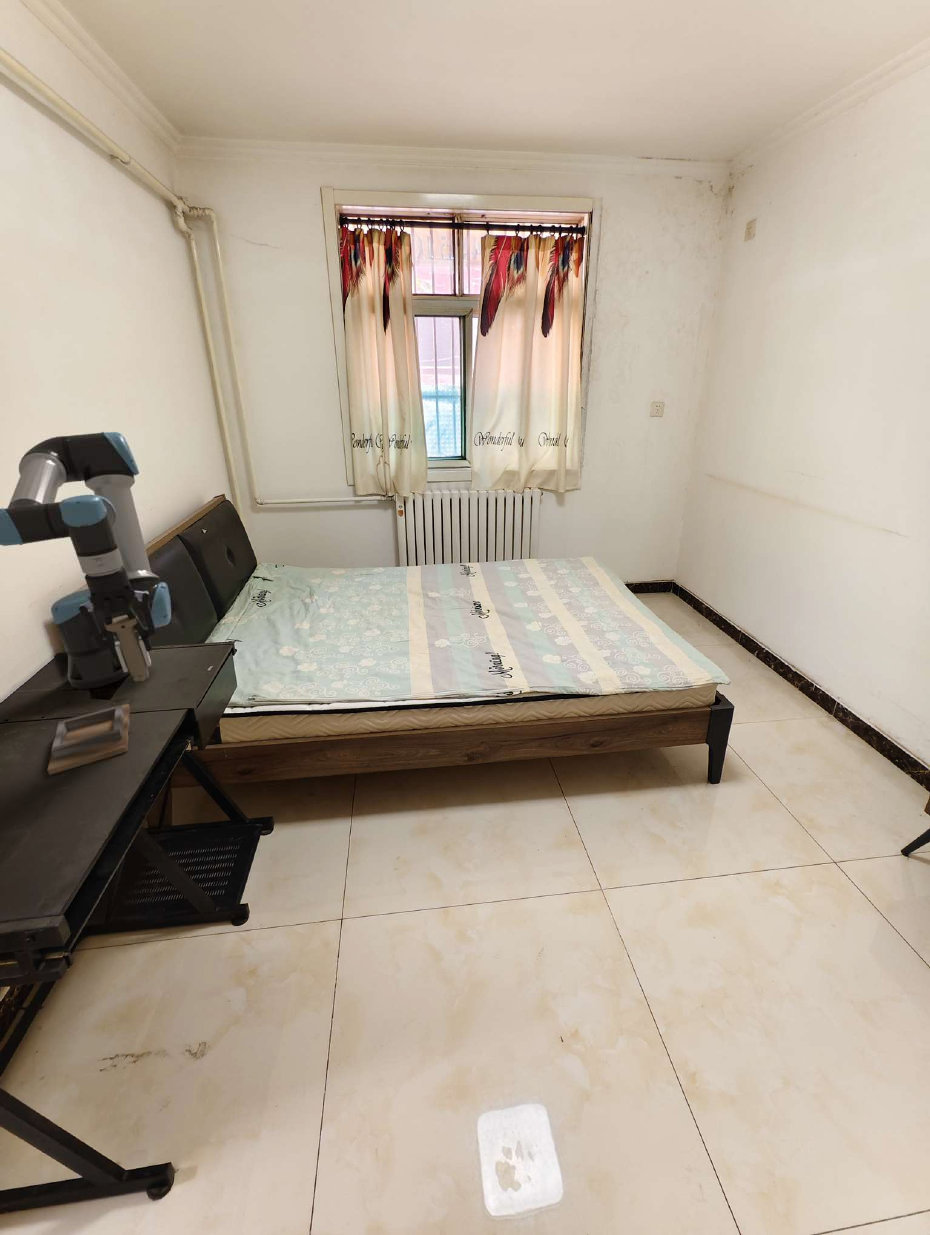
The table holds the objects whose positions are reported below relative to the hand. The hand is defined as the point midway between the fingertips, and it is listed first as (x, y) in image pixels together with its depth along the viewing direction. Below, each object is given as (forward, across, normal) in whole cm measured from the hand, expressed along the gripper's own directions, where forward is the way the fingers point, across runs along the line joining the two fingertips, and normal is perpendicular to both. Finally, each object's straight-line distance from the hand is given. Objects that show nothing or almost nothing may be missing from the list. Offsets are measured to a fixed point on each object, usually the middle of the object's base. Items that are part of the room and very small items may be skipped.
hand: (137, 666), depth 127 cm
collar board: (+12, -12, -5) cm, 18 cm away
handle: (+3, 0, 0) cm, 3 cm away
